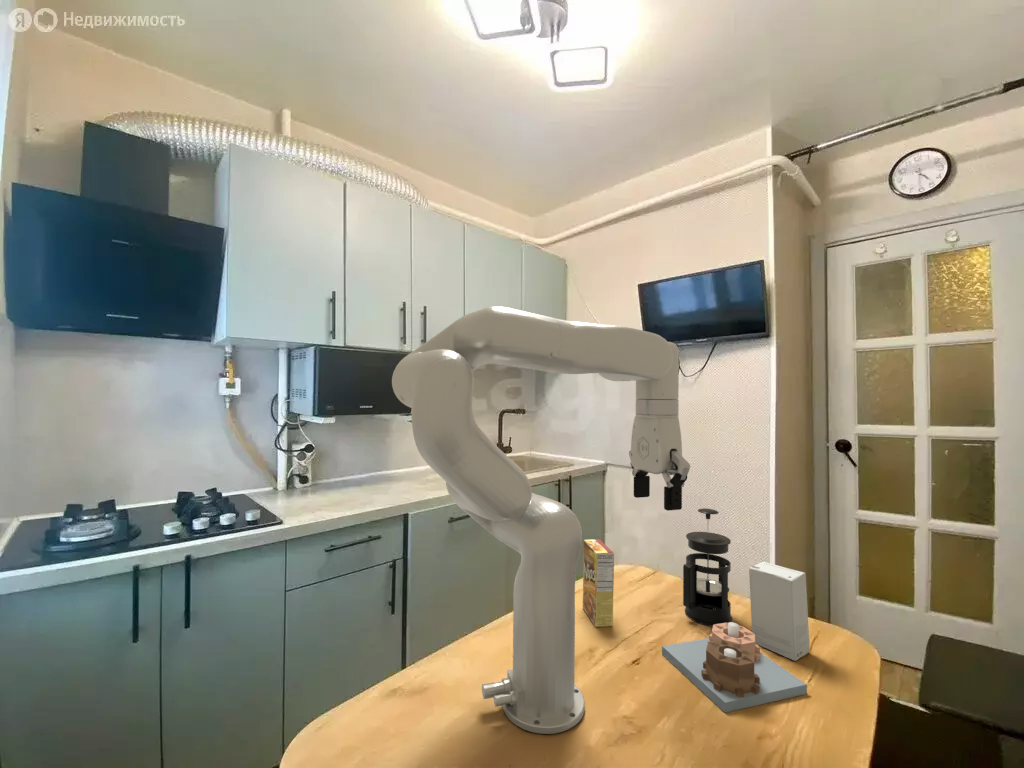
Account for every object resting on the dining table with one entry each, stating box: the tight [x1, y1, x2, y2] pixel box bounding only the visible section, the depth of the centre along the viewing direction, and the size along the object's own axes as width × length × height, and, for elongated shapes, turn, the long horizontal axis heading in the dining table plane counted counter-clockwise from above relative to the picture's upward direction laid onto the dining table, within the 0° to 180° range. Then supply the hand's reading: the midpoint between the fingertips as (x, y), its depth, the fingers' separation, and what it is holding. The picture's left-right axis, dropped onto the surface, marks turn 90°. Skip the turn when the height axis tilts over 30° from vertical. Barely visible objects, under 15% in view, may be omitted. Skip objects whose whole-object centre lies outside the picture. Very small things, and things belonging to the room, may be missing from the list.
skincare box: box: [748, 561, 811, 662], centre depth 87 cm, size 8×6×15 cm
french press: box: [682, 507, 733, 627], centre depth 99 cm, size 12×9×23 cm
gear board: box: [661, 621, 808, 713], centre depth 79 cm, size 16×16×6 cm
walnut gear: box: [701, 639, 760, 697], centre depth 75 cm, size 8×8×4 cm
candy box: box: [582, 538, 615, 628], centre depth 99 cm, size 9×4×15 cm, turn 9°
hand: (656, 502), depth 84 cm, fingers open, 9 cm apart
